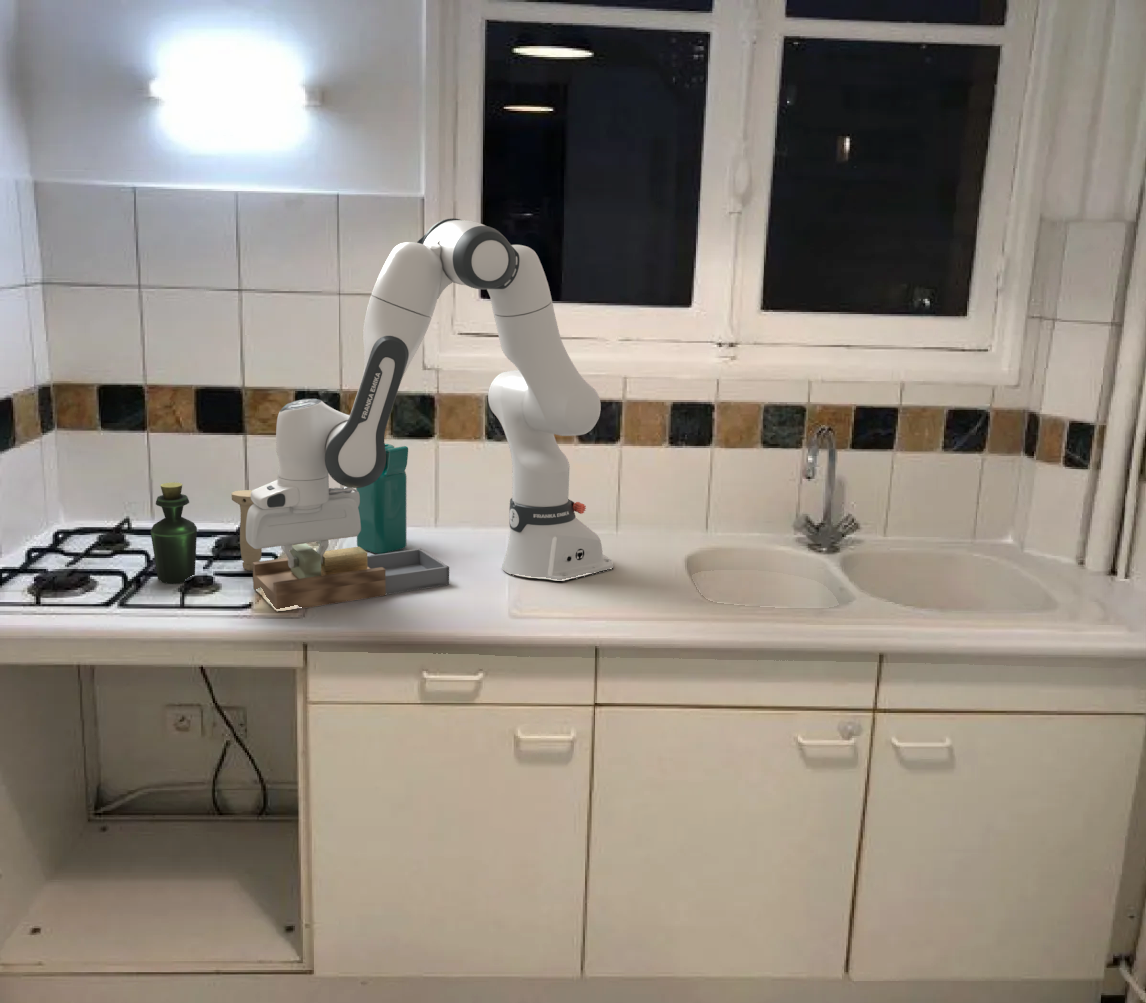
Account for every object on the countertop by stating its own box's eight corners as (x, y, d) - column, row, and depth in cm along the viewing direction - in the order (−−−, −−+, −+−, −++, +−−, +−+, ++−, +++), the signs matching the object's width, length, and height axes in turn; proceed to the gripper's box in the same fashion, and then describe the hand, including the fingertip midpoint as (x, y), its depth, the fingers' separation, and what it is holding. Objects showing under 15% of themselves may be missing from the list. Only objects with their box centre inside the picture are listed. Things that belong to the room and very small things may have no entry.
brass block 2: (359, 567, 204) (359, 546, 203) (367, 573, 201) (367, 552, 200) (339, 569, 202) (338, 549, 201) (346, 576, 199) (346, 555, 198)
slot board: (357, 573, 210) (357, 548, 208) (385, 595, 198) (385, 569, 197) (253, 588, 199) (252, 562, 198) (276, 612, 188) (276, 584, 187)
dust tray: (420, 565, 216) (420, 548, 215) (449, 584, 205) (449, 567, 204) (358, 574, 209) (358, 557, 208) (384, 594, 199) (384, 576, 198)
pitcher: (352, 546, 226) (351, 443, 221) (384, 539, 233) (383, 438, 227) (383, 557, 220) (382, 451, 215) (415, 549, 226) (415, 445, 221)
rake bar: (306, 569, 201) (306, 543, 199) (321, 581, 194) (320, 555, 193) (290, 571, 199) (290, 545, 198) (305, 584, 193) (304, 557, 191)
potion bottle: (159, 571, 206) (154, 479, 202) (204, 571, 207) (199, 479, 203) (148, 585, 199) (142, 490, 194) (194, 585, 199) (189, 490, 195)
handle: (263, 573, 208) (260, 497, 204) (230, 571, 208) (227, 495, 204) (272, 565, 212) (270, 491, 208) (240, 563, 213) (237, 489, 209)
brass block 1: (339, 569, 202) (338, 549, 201) (346, 576, 199) (346, 555, 198) (318, 572, 200) (317, 551, 199) (325, 579, 197) (325, 557, 196)
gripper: (353, 481, 201) (354, 553, 204) (241, 492, 190) (244, 567, 193) (365, 489, 195) (366, 562, 199) (251, 500, 185) (254, 578, 188)
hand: (305, 565), depth 196 cm, fingers closed on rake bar, 3 cm apart
